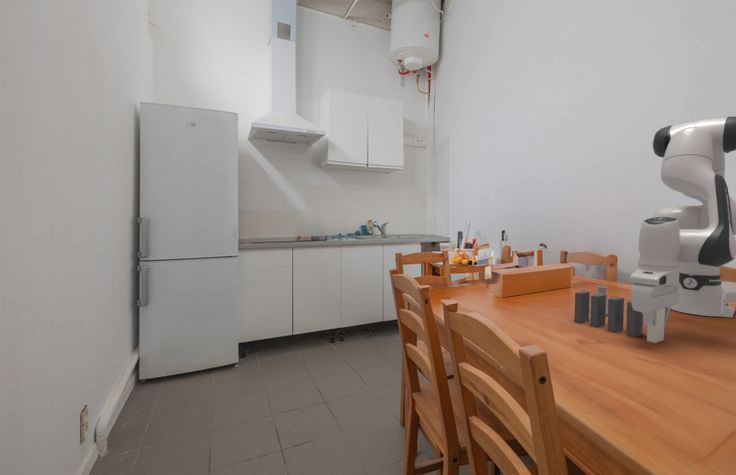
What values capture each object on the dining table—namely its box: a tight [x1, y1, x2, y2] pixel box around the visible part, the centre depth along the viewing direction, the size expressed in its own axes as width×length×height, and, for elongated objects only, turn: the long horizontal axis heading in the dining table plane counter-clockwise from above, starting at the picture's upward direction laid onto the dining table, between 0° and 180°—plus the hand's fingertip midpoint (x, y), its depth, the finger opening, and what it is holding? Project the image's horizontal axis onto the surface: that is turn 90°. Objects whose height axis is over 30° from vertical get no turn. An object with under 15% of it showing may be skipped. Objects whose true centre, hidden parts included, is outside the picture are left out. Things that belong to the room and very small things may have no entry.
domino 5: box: [646, 308, 665, 344], centre depth 93 cm, size 2×5×10 cm, turn 118°
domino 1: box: [573, 290, 591, 324], centre depth 111 cm, size 2×5×10 cm, turn 118°
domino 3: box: [606, 296, 625, 333], centre depth 102 cm, size 2×5×10 cm, turn 118°
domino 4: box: [625, 300, 644, 338], centre depth 98 cm, size 2×5×10 cm, turn 118°
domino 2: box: [589, 293, 607, 329], centre depth 106 cm, size 2×5×10 cm, turn 118°
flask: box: [589, 285, 609, 316], centre depth 120 cm, size 7×7×10 cm
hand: (655, 323), depth 93 cm, fingers open, 6 cm apart
